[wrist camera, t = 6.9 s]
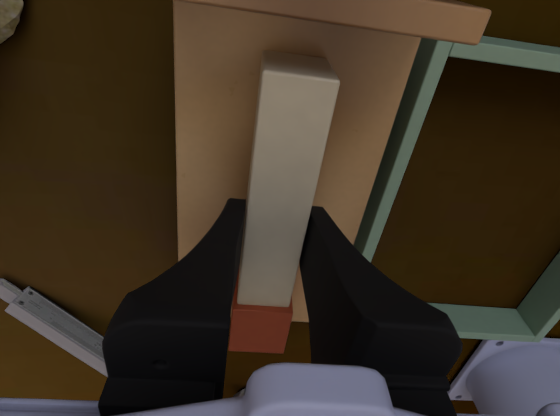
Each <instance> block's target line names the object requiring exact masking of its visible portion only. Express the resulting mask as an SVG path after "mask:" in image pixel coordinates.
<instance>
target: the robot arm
mask: <svg viewBox="0 0 560 416" xmlns="http://www.w3.org/2000/svg"><path fill="white" fill-rule="evenodd" d="M245 210H246V199H236V198H229V199H228V200H227V202H226V204H225V207H224V208H223V210H222V212H221V214H220V215H219V217H218V218H217V220H216V221H215V223H214V224H213V226H212V227H211V228H210V230H209V231H208V232H207V233H206V234H205V236H204V237H203V238H202V239H201V240H200V242H199V243H198V244H197V245H196V246H195V247H194V248H193V249H192V250H191V251H190V252H189V253H188V254H187V255H186V256H184V257H183V258H182V259H181V260H180V261H179V262H177V263H176V264H175V265H174V266H172V267H171V268H170V269H168V270H167V271H165V272H164V273H163V274H161V275H160V276H158V277H157V278H155V279H154V280H152V281H151V282H149V283H147V284H145V285H143V286H141V287H139V288H138V289H136V290H134V291H132V292H130V293H128V294H127V295H126V296H125V298H124V299H123V301H122V302H121V304H120V305H119V307H118V309H117V310H116V312H115V314H114V315H113V317H112V319H111V321H110V324H109V326H108V328H107V331H106V333H105V336H104V338H103V341H102V351H103V356H104V361H105V365H106V370H107V375H108V378H107V381H106V383H105V386H104V389H103V391H102V394H101V397H100V400H99V401H87V400H58V399H30V398H1V397H0V416H560V339H558V338H543V339H542V340H541V341H540V342H539V343H538V342H519V341H502V340H485V339H483V341H482V342H481V343H480V345H479V346H478V347H477V349H476V350H475V352H474V353H473V354H472V356H471V357H470V359H469V360H468V361H467V363H466V364H465V366H464V367H463V368H462V370H461V371H460V372H459V374H458V375H457V377H456V378H455V379H454V381H453V382H452V384H451V385H450V384H449V381H448V379H447V377H446V375H447V374H448V372H449V371H450V369H451V368H452V366H453V365H454V364H455V362H456V361H457V359H458V358H459V356H460V353H461V351H462V342H461V340H460V337H459V335H458V333H457V331H456V329H455V327H454V325H453V323H452V321H451V320H450V318H449V316H448V315H447V314H446V313H445V312H443V311H441V310H439V309H437V308H435V307H433V306H431V305H430V304H428V303H426V302H424V301H422V300H420V299H419V298H417V297H416V296H414V295H412V294H411V293H409V292H408V291H406V290H405V289H403V288H402V287H400V286H399V285H397V284H396V283H395V282H393V281H392V280H391V279H389V278H388V277H387V276H385V275H384V274H383V273H382V272H380V271H379V270H378V269H377V268H376V267H375V266H374V265H372V264H371V263H370V262H369V261H368V260H367V259H366V258H365V257H364V256H363V255H362V254H361V253H360V252H359V251H358V250H357V249H356V248H355V247H354V246H353V245H352V243H351V242H350V241H349V240H348V239H347V238H346V236H345V235H344V234H343V233H342V231H341V230H340V229H339V228H338V226H337V225H336V224H335V222H334V221H333V220H332V218H331V217H330V216H329V214H328V213H327V212H326V210H325V209H324V208H323V207H320V206H312V208H311V213H310V217H309V222H308V226H307V230H306V235H305V239H304V243H303V248H302V252H301V257H300V261H299V263H300V272H301V278H302V284H303V290H304V295H305V301H306V307H307V312H308V319H309V329H310V345H311V363H291V362H282V363H273V364H268V365H266V366H264V367H261V368H259V369H257V370H256V371H254V372H253V373H252V375H251V376H250V378H249V379H248V381H247V385H246V392H245V394H244V396H238V397H231V398H224V399H222V398H223V388H224V378H225V367H226V357H227V347H228V337H229V326H230V315H231V307H232V302H233V296H234V291H235V286H236V281H237V275H238V270H239V265H240V257H241V248H242V239H243V229H244V220H245ZM451 400H469V401H473V402H474V404H475V406H476V408H477V410H478V412H479V414H458V413H456V412H455V409H454V407H453V405H452V402H451Z"/></svg>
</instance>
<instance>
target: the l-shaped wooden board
mask: <svg viewBox="0 0 560 416" xmlns="http://www.w3.org/2000/svg"><path fill="white" fill-rule="evenodd" d="M490 15H491V11H490V10H489V9H486V8H482V7H479V6H475V5H471V4H467V3H463V2H460V1H456V0H173V32H174V81H175V130H176V179H177V228H178V262H179V261H180V260H181V259H182V258H183V257H184V256H186V255H187V254H188V253H189V252H190V251H191V250H192V249H193V248H194V247H195V246H196V245H197V244H198V243H199V242H200V240H201V239H202V238H203V237H204V236H205V234H206V233H207V232H208V231H209V230H210V228H211V227H212V226H213V224H214V223H215V221H216V220H217V218H218V217H219V215H220V214H221V212H222V210H223V208H224V207H225V204H226V202H227V200H228V199H229V198H236V199H247V190H248V181H249V171H250V162H251V152H252V143H253V133H254V124H255V115H256V105H257V96H258V86H259V77H260V68H261V58H262V52H263V50H269V51H276V52H284V53H291V54H298V55H305V56H312V57H319V58H326V59H327V60H328V61H329V63H330V65H331V67H332V68H333V70H334V72H335V73H336V75H337V77H338V79H339V80H340V86H339V90H338V94H337V99H336V103H335V108H334V112H333V116H332V121H331V125H330V129H329V134H328V138H327V143H326V147H325V151H324V156H323V160H322V165H321V169H320V173H319V178H318V182H317V186H316V191H315V195H314V200H313V204H312V206H320V207H323V208H324V209H325V210H326V212H327V213H328V214H329V216H330V217H331V218H332V220H333V221H334V222H335V224H336V225H337V226H338V228H339V229H340V230H341V231H342V233H343V234H344V235H345V236H346V238H347V239H348V240H349V241H350V242H351V243H352V245H354V242H355V239H356V236H357V233H358V230H359V227H360V224H361V220H362V217H363V214H364V211H365V208H366V205H367V202H368V199H369V196H370V193H371V190H372V187H373V184H374V181H375V178H376V175H377V172H378V169H379V166H380V162H381V159H382V156H383V153H384V150H385V147H386V144H387V141H388V138H389V135H390V132H391V129H392V126H393V123H394V120H395V117H396V114H397V111H398V108H399V105H400V101H401V98H402V95H403V92H404V89H405V86H406V83H407V80H408V77H409V74H410V71H411V68H412V65H413V62H414V59H415V56H416V53H417V50H418V47H419V43H420V40H421V38H426V39H433V40H440V41H446V42H453V43H460V44H466V45H473V46H475V45H478V44H479V42H480V40H481V37H482V35H483V32H484V30H485V27H486V25H487V23H488V20H489V18H490ZM232 303H233V302H232ZM292 305H293V316H292V320H291V321H298V322H309V319H308V312H307V307H306V301H305V295H304V290H303V284H302V278H301V272H300V263H299V265H298V270H297V274H296V279H295V283H294V287H293V292H292ZM231 315H232V307H231ZM231 315H230V317H231Z"/></svg>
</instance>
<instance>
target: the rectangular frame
mask: <svg viewBox="0 0 560 416" xmlns="http://www.w3.org/2000/svg"><path fill="white" fill-rule="evenodd" d="M448 56H449V57H456V58H463V59H470V60H477V61H483V62H490V63H497V64H504V65H511V66H518V67H524V68H531V69H538V70H545V71H552V72H559V73H560V48H559V47H552V46H546V45H539V44H533V43H526V42H520V41H513V40H507V39H500V38H494V37H487V36H482V37H481V40H480V42H479V44H478V45H475V46H473V45H466V44H460V43H453V42H446V41H440V40H433V39H426V38H421V40H420V43H419V47H418V50H417V53H416V56H415V59H414V62H413V65H412V68H411V71H410V74H409V77H408V80H407V83H406V86H405V89H404V92H403V95H402V98H401V101H400V105H399V108H398V111H397V114H396V117H395V120H394V123H393V126H392V129H391V132H390V135H389V138H388V141H387V144H386V147H385V150H384V153H383V156H382V159H381V162H380V166H379V169H378V172H377V175H376V178H375V181H374V184H373V187H372V190H371V193H370V196H369V199H368V202H367V205H366V208H365V211H364V214H363V217H362V220H361V224H360V227H359V230H358V233H357V236H356V239H355V242H354V245H353V246H354V247H355V248H356V249H357V250H358V251H359V252H360V253H361V254H362V255H363V256H364V257H365V258H366V259H367V260H368V261H369V262H370V263H371V260H372V258H373V255H374V252H375V250H376V247H377V244H378V242H379V239H380V236H381V234H382V231H383V228H384V226H385V223H386V220H387V218H388V215H389V212H390V209H391V207H392V204H393V201H394V199H395V196H396V193H397V191H398V188H399V185H400V183H401V180H402V177H403V175H404V172H405V169H406V167H407V164H408V161H409V159H410V156H411V153H412V151H413V148H414V145H415V143H416V140H417V137H418V135H419V132H420V129H421V127H422V124H423V121H424V119H425V116H426V113H427V111H428V108H429V105H430V103H431V100H432V97H433V95H434V92H435V89H436V87H437V84H438V81H439V79H440V76H441V73H442V71H443V68H444V65H445V63H446V60H447V57H448ZM428 304H430V305H431V306H433V307H435V308H437V309H439V310H441V311H443V312H445V313H446V314H447V315H448V316H449V318H450V320H451V321H452V323H453V325H454V327H455V329H456V331H457V333H458V335H459V337H460V338H469V339H485V340H502V341H519V342H538V343H539V342H540V341H541V340H542V339H543V338H544V337H545V335H546V334H547V333H548V332H549V331H550V330H551V328H552V327H553V326H554V325H555V324H556V323H557V321H558V320H559V319H560V251H559V252H558V254H557V255H556V256H555V258H554V259H553V261H552V262H551V263H550V265H549V266H548V267H547V269H546V270H545V271H544V273H543V274H542V275H541V277H540V278H539V279H538V281H537V282H536V283H535V285H534V286H533V287H532V289H531V290H530V291H529V293H528V294H527V295H526V297H525V298H524V299H523V301H522V302H521V303H520V305H519V306H518V307H517V309H510V308H496V307H481V306H467V305H452V304H438V303H428Z"/></svg>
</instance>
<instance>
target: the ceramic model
mask: <svg viewBox="0 0 560 416" xmlns="http://www.w3.org/2000/svg"><path fill="white" fill-rule="evenodd" d="M23 4H24V3H23V0H0V44H1V43H2V42H3V41H5V40H6V39H7V38H9V37H10V36H11V35H13V34H14V31H15V28H16V26H17V24H18V23H19V21H20V14H21V12H22V9H23Z"/></svg>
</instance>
